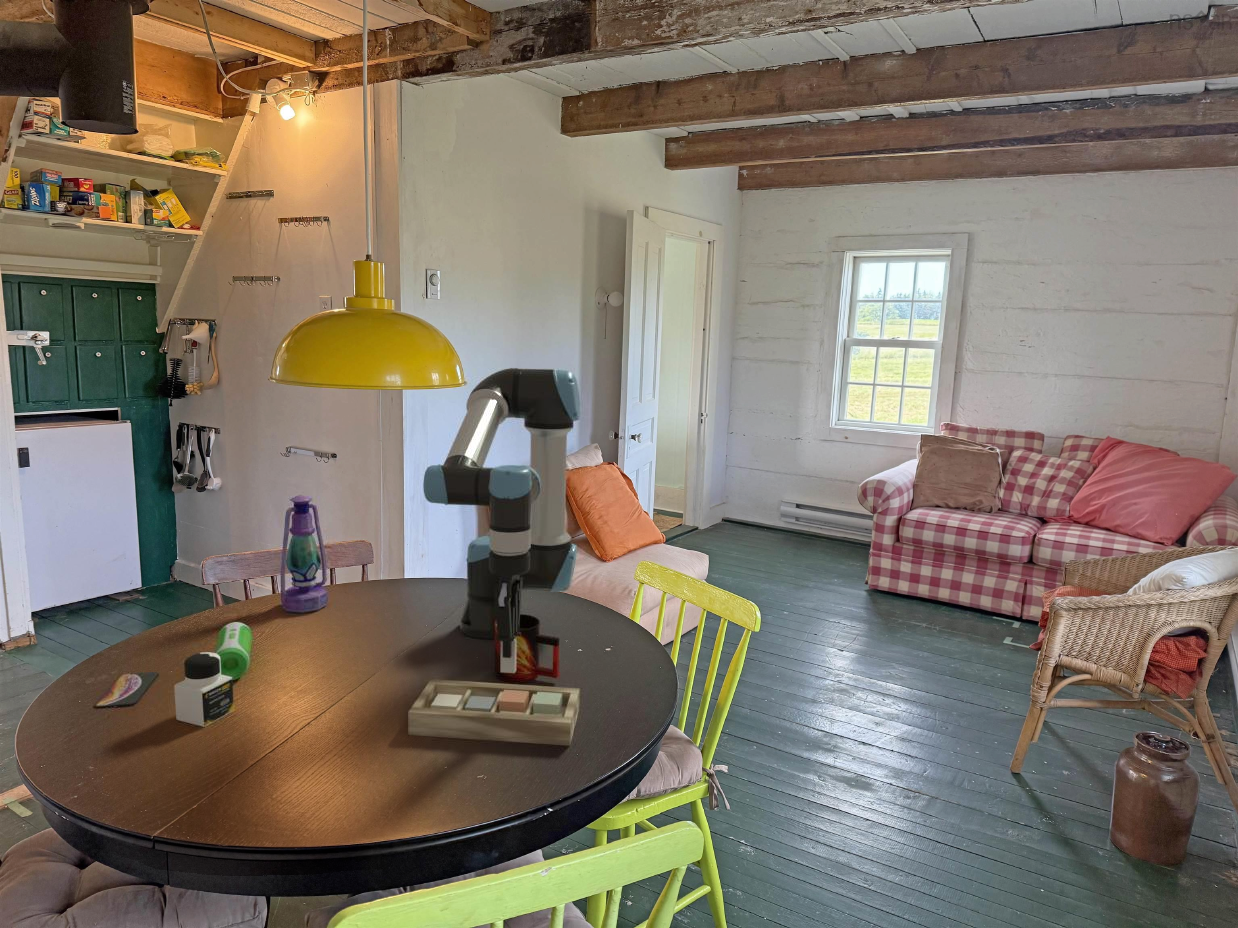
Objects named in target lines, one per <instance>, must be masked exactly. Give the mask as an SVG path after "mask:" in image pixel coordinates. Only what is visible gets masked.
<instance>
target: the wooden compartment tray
mask: <svg viewBox="0 0 1238 928" xmlns="http://www.w3.org/2000/svg"><path fill="white" fill-rule="evenodd" d="M504 690H517V691H529V702H528V704H527V707H526V709H525V712H524V713H522V712H507V711H499V700H500V698H501V696H502V694H503V692H504ZM537 692H549V693H562V705H561V708H560V712H559V715H553V714H538V713H533V703H534V700H535V697H536V695H537ZM580 692H581V688H576V687H559V686H546V685H545V686H544V685H530V684H529V685H527V684H508V683H497V682H495V683H494V682H481V681H480V682H479V681H468V680H467V681H465V680H451V679H448V680H447V679H435V678H434V679H432V678H431V679H430V680H429V681H428V683H427V684H426V686H425V687H424V688H423V690H422V692H421V693H420V695H419V696H418V697H417V699H416V700H415V701H414V702H413V704H412V706H411V708H410V709H409V710H408V712H407V713H408V715H407V716H408V717H407V720H408V725H407V727H408V730H407V731H408V735H409V736H419V737H434V738H435V737H437V738H452V739H465V740H466V739H467V740H479V741H492V742H493V741H497V742H509V743H510V742H512V743H523V744H524V743H525V744H526V743H527V744H540V745H552V746H553V745H554V746H567V747H570V746H571V744H572V739H573V735H574V732H575V727H576V724H577V719H578V716H579V712H580V696H581V695H580ZM438 694H451V695H463V699H462V701H461V703H460V704H459V706H458V708H457V710H449V709H434V708H431V704H432V703H433V701H434V700H435V698H436V697H437V695H438ZM471 696H482V697H496V702H495V704H494V706H493V708H492V710H491V712H480V711H465V706H466V704H467V703H468V701H469V699H470V697H471Z"/></svg>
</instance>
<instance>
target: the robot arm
mask: <svg viewBox="0 0 1238 928" xmlns="http://www.w3.org/2000/svg"><path fill="white" fill-rule="evenodd" d="M580 403H581V400H580V390H579V385H578V380H577V377H576V376H575V374H574V373H573V372H572V371H569V370H563V369H556V368H555V369H553V368H541V369H540V368H517V367H509V368H506V369H505V368H504V369H501V370H499V371H496V372H494V373H492V374H490V375H488V376H487V377H485V378H484V379H483V380H482V381H480V382H479V383H477V385H476V386H475V387H474V388H473V389H472V391H471V392H470V394H469V396H468V398H467V401H466V405H465V406H466V414H465V416H464V418H463V420H462V423H461V424H460V427H459V430H458V431H457V433H456V436H455V439H454V440H453V442H452V444H451V446H450V450H449V452H448V454H447V456H446V459H445V461H444V463H443V465H441V464H440V463H439V464H436V465H435V464H434V465H430V466H428V467H427V468H426V470H425V471H424V474H423V483H422V484H423V485H422V487H423V494H424V497H425V500H426V501H427V502H429V503H431V504H442V505H446V506H448V505H449V506H450V505H453V506H481V507H489V531H486V535H483V536H480V537H477V538H475V539H473V540H472V541H470V543H469V544H468V545H467V554H466V555H467V557H466V569H467V572H466V580H467V581H466V585H467V586H466V588H467V589H466V590H467V592H466V594H467V595H466V598H467V599H466V601H465V604H464V607H463V610H462V613H461V615H460V616H461V617H460V620H459V630H460V632H461V633H462V634H464V635H466V636H468V637H472V638H475V639H486V640H488V639H489V640H493V639H494V640H495V620H496V619H497V634H498V636H497V638H496V640H498V641H501V665H500V672H505V673H515V671H516V654H517V637H515V636H521V632H517V629H519V627H520V625H519V623H520V614H521V607H522V606H521V605H522V604H521V603H522V591H533V592H534V591H535V592H536V591H537V592H538V591H539V592H549V593H552V592H566V591H568V590H569V589H570V587H571V585H572V582H573V578H574V572H575V567H576V560H577V554H578V546H577V544H575V543H572V536H571V535H570V534H569V533H568V531H566V500H567V499H566V495H567V494H566V493H567V441H568V440H567V438H568V437H567V436H568V433H569V432H571V431H572V430H573V429H574V422H576V421H579V420H580V419H581V404H580ZM507 418H511V419H512V418H513V419H514V418H515V419H524V420H523V421H524V428H525V429H526V430H527V431H528V432H529V434H530V457H529V459H530V461H529V465H530V466H528V465H513V464H512V465H511V464H510V465H509V464H508V465H507V464H505V465H499V466H495V467H489V466H488V467H486V466H485V467H484V465H485V463H486V459H487V457H488V455H489V452H490V449H491V446H492V444H493V441H494V439H495V436H496V433H497V431H498V429H499V425H501V424H503V422H505V420H506V419H507Z"/></svg>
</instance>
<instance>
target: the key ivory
mask: <svg viewBox="0 0 1238 928" xmlns="http://www.w3.org/2000/svg"><path fill="white" fill-rule="evenodd" d="M462 699H463V695H451V694H438V695H437V697H436V698H435V700H434V701H433V703H432V704H431V708H434V709H449V710H457V708H458V706H459V704H460V703H461V701H462Z"/></svg>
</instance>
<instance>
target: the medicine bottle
mask: <svg viewBox="0 0 1238 928" xmlns="http://www.w3.org/2000/svg"><path fill="white" fill-rule="evenodd" d="M183 663H184V664H183V665H184V680H182V681H180V682H177V683H176V684H174V702H175V704H174V705H175V718H176V720H177V721H180V722H184V723H186V724H187V723H188V724H192V725H195V726H197V727H198V726H199V727H203V728H206V727H208V726H209V725H211V724H213V723H215V722H217V721H218V720H220V719H222V718H224V717H226V716H228V715H230V714H231V713H233V712H234V711H235V703H234V702H235V701H234V685H233V681H234V680H232V677H230V676H225V675H221V662H220V656H219V655H218V654H216V653H214V652H210V651H209V652H207V651H204V652H199V653H195V654H192V655H190V656H188V657H187V658H186V659H185V660H184V662H183Z"/></svg>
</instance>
